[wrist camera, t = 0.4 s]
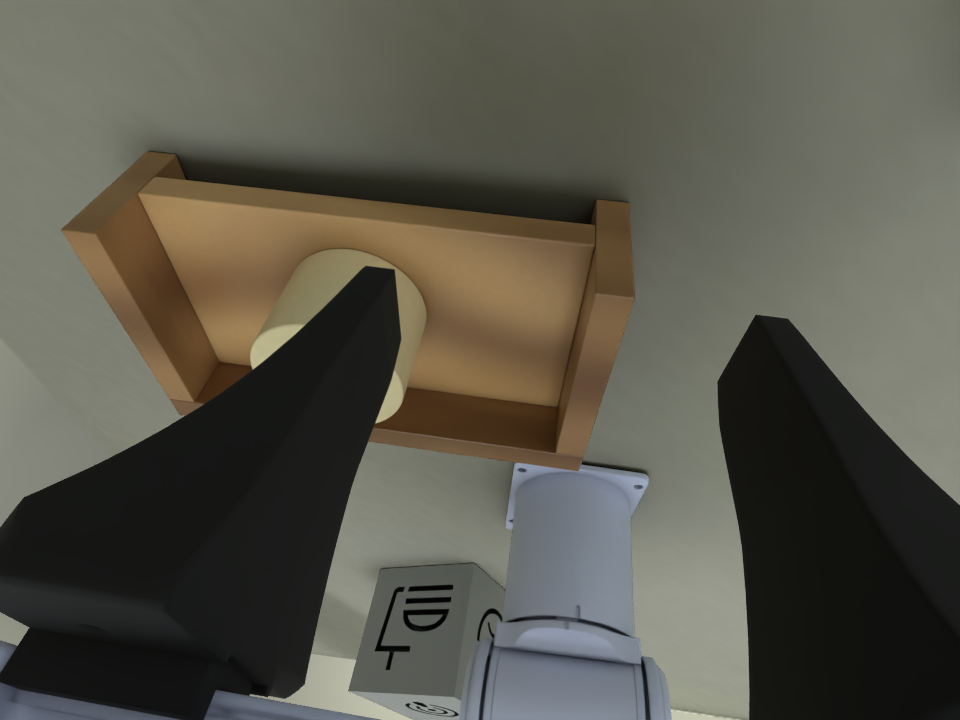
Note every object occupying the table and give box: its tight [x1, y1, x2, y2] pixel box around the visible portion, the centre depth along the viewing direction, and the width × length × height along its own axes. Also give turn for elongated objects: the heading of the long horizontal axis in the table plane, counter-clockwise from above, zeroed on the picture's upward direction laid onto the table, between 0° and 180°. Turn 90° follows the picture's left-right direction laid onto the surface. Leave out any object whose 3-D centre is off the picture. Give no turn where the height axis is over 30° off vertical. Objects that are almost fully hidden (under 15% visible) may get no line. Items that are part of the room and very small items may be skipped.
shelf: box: [61, 152, 635, 471], centre depth 23 cm, size 10×18×5 cm, turn 89°
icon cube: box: [348, 563, 505, 720], centre depth 49 cm, size 10×10×10 cm
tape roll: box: [250, 249, 427, 423], centre depth 20 cm, size 5×5×4 cm
